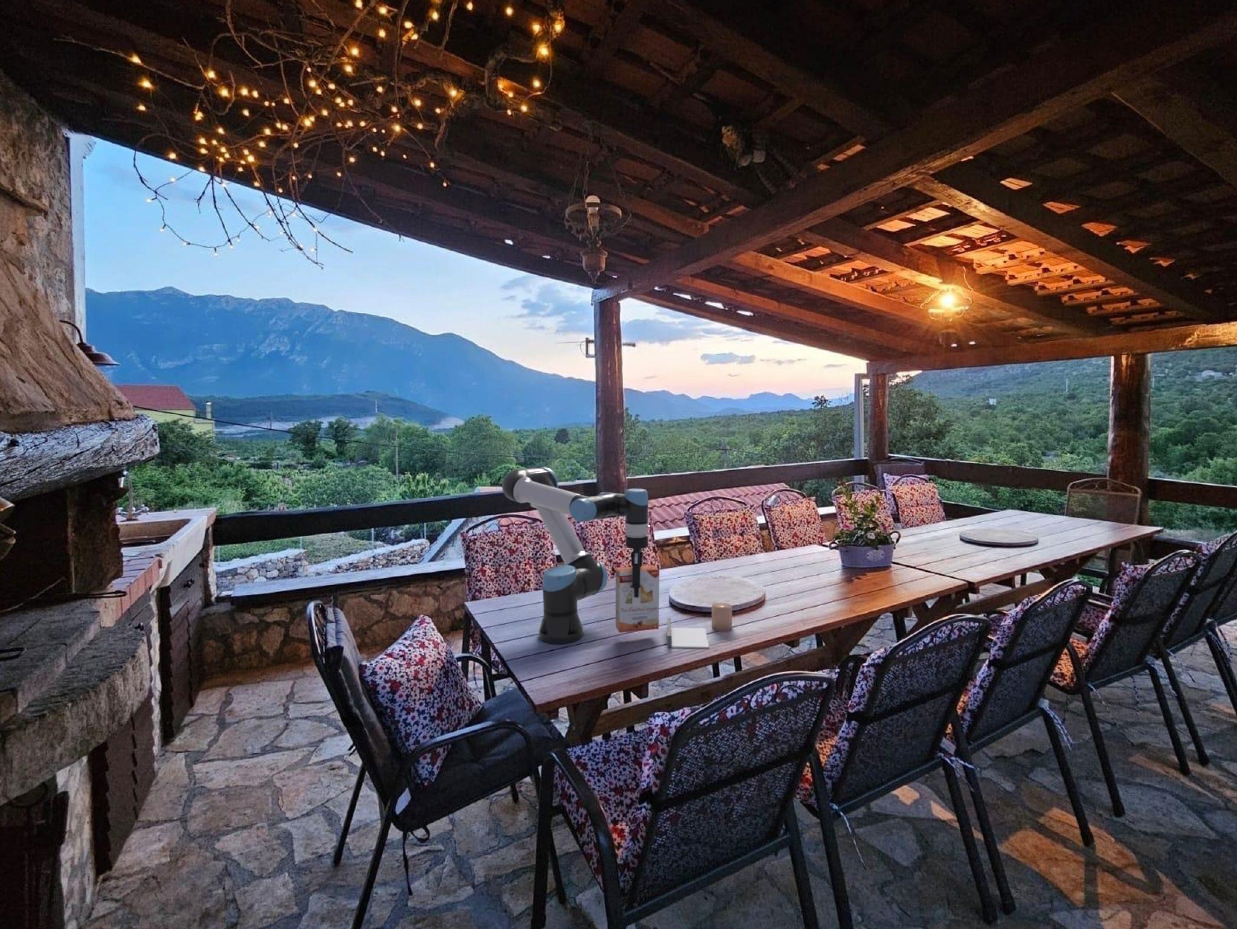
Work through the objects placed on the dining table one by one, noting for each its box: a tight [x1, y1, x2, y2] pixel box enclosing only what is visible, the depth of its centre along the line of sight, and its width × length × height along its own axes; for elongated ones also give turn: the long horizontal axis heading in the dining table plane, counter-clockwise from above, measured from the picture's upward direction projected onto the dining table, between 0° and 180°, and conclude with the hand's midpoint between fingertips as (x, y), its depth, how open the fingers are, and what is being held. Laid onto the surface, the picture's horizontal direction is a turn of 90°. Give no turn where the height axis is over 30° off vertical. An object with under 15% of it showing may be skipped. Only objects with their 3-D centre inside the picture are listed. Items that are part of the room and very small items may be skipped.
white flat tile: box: [666, 617, 710, 649], centre depth 186 cm, size 13×16×4 cm
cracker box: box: [615, 565, 660, 634], centre depth 186 cm, size 14×6×21 cm, turn 104°
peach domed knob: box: [711, 602, 733, 633], centre depth 195 cm, size 7×7×8 cm
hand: (637, 601), depth 186 cm, fingers closed on cracker box, 7 cm apart
